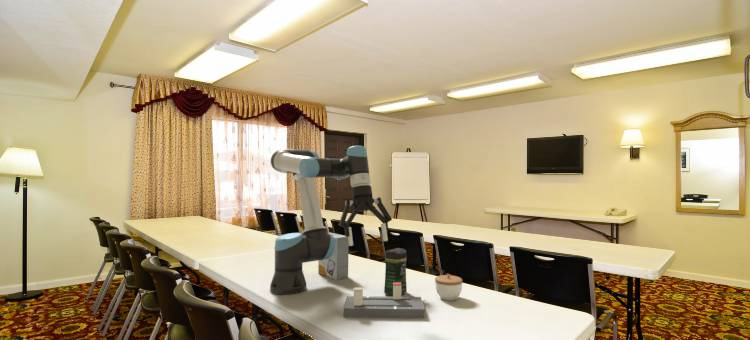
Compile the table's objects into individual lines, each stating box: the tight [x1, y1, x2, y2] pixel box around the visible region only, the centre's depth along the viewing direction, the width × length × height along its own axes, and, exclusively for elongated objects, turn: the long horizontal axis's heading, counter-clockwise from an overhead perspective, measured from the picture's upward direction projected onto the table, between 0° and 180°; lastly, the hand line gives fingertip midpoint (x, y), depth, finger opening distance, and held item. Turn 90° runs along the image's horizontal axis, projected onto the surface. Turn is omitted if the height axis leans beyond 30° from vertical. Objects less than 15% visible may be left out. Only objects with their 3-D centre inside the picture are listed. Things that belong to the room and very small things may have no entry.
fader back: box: [392, 282, 402, 299], centre depth 135 cm, size 3×2×6 cm
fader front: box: [353, 287, 364, 306], centre depth 129 cm, size 3×2×6 cm
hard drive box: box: [317, 232, 349, 281], centre depth 180 cm, size 16×8×20 cm, turn 43°
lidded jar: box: [434, 273, 463, 302], centre depth 146 cm, size 11×11×9 cm
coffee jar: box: [383, 247, 408, 297], centre depth 152 cm, size 10×8×19 cm
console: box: [342, 295, 426, 319], centre depth 132 cm, size 28×14×3 cm, turn 89°
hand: (368, 243), depth 133 cm, fingers open, 13 cm apart
